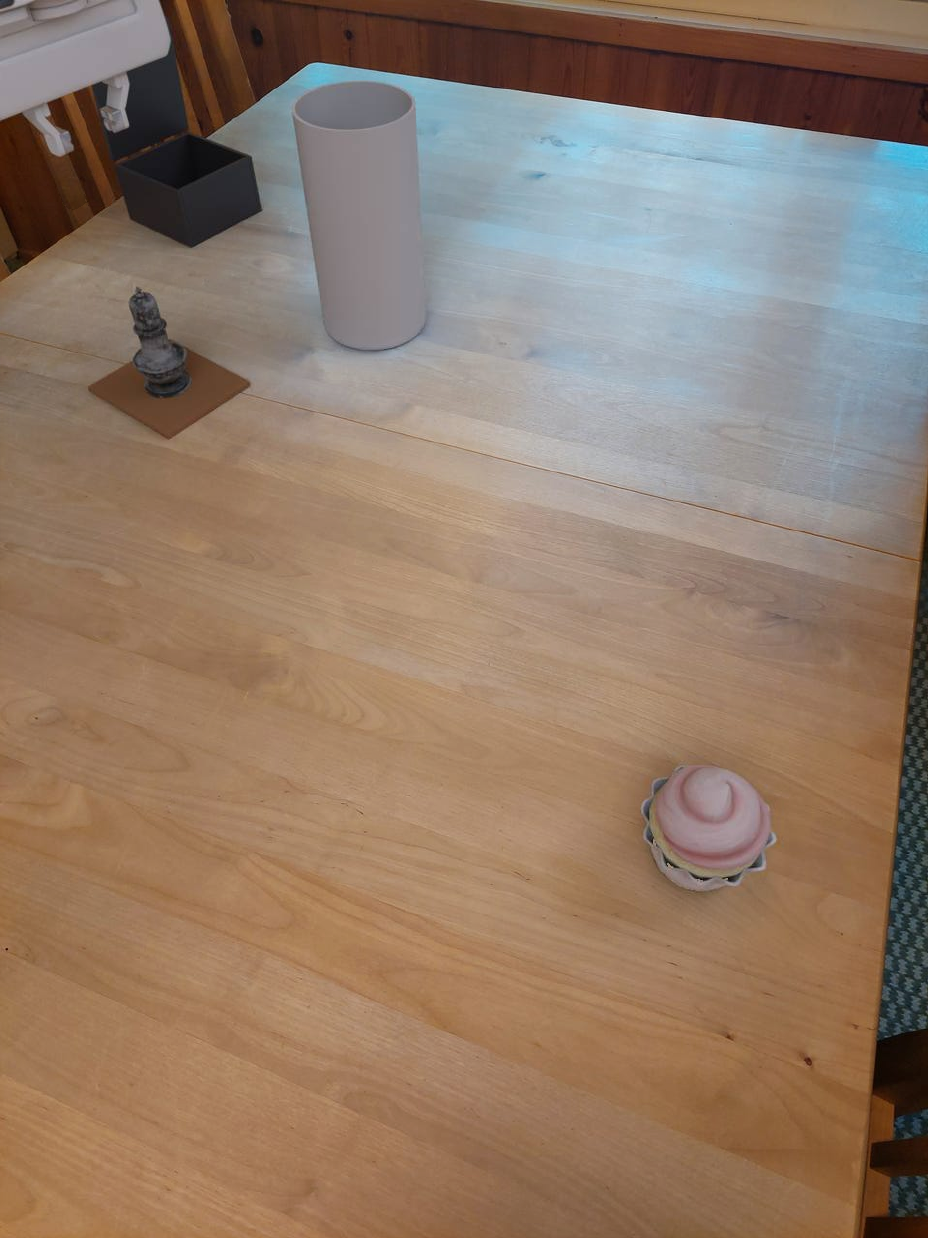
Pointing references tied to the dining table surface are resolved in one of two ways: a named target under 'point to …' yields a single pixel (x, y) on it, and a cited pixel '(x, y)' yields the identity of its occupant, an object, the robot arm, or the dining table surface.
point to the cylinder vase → (363, 210)
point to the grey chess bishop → (157, 350)
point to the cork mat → (174, 412)
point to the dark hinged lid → (147, 106)
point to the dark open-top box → (189, 188)
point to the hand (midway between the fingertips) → (91, 140)
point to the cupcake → (707, 827)
